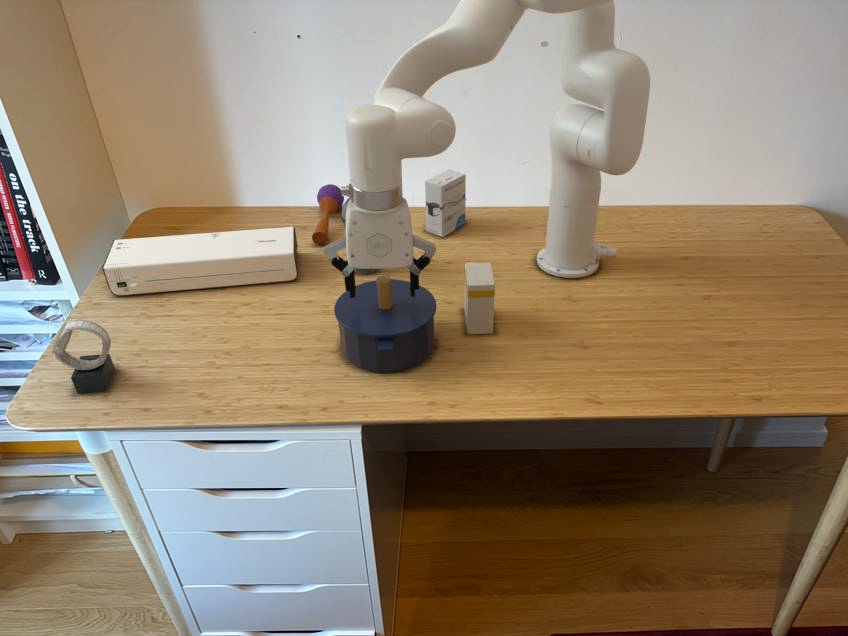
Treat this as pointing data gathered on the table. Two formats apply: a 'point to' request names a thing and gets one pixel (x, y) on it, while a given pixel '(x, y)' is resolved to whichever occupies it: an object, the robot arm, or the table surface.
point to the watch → (86, 358)
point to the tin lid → (385, 308)
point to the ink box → (445, 202)
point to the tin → (388, 349)
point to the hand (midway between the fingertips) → (383, 293)
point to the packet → (479, 298)
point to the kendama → (327, 211)
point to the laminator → (201, 261)
